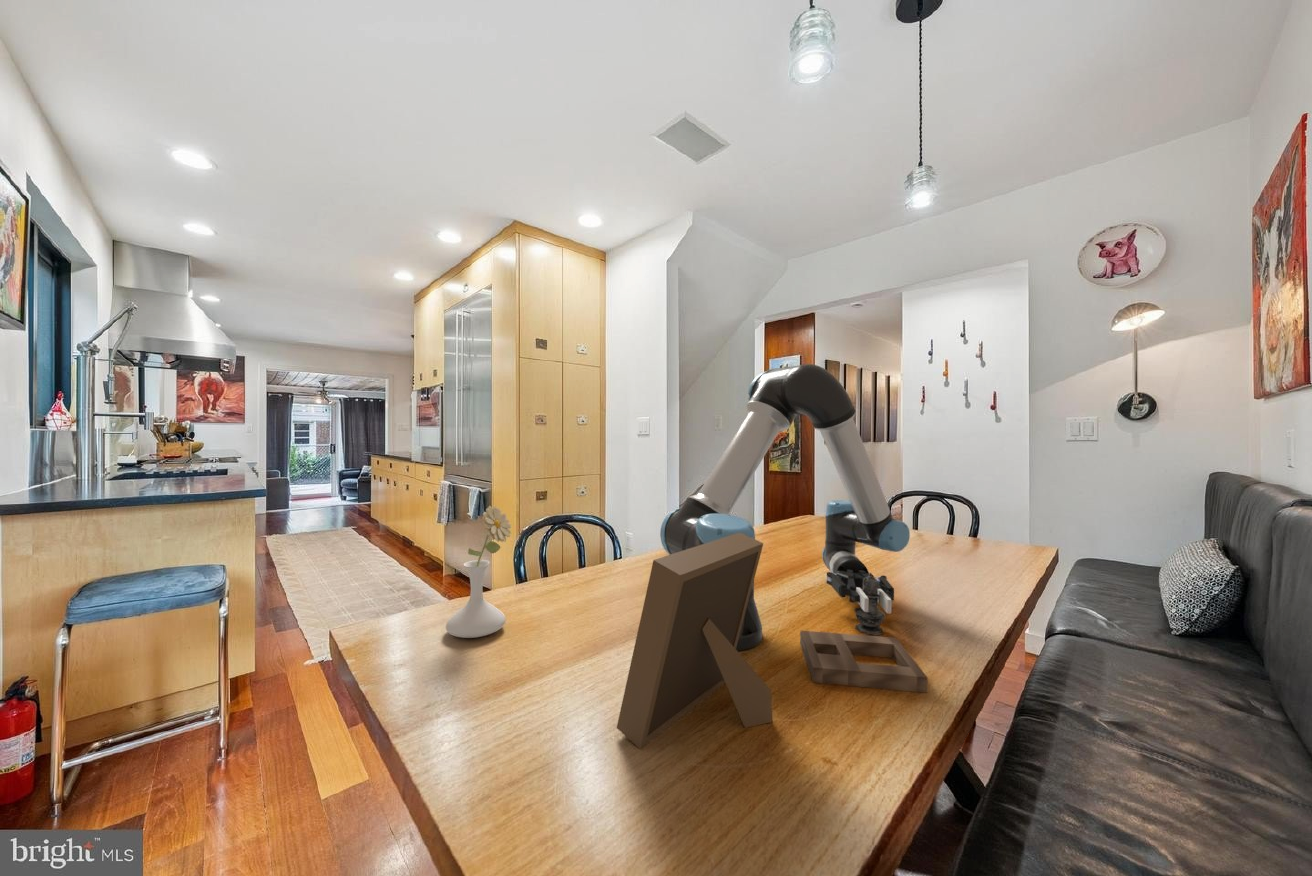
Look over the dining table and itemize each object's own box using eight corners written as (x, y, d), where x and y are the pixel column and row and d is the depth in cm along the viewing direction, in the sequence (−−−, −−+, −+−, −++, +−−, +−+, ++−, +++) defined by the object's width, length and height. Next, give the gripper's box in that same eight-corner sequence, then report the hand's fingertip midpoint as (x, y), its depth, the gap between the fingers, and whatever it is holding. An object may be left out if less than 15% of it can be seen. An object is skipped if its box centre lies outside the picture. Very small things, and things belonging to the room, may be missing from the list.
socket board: (812, 682, 79) (813, 667, 79) (800, 643, 93) (800, 630, 93) (926, 692, 76) (927, 677, 76) (895, 650, 90) (896, 637, 90)
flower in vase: (466, 649, 89) (466, 515, 88) (434, 633, 95) (434, 508, 95) (524, 626, 99) (525, 506, 98) (491, 613, 106) (492, 500, 105)
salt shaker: (889, 636, 97) (891, 577, 97) (860, 635, 97) (862, 576, 97) (877, 624, 103) (878, 568, 103) (849, 623, 103) (850, 568, 103)
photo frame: (616, 735, 65) (621, 551, 64) (705, 672, 81) (710, 527, 81) (708, 790, 55) (715, 576, 54) (788, 707, 72) (794, 542, 71)
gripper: (884, 588, 116) (922, 628, 93) (813, 583, 119) (833, 621, 96) (885, 557, 116) (923, 589, 93) (813, 553, 119) (834, 584, 96)
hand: (877, 605), depth 94 cm, fingers closed on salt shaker, 4 cm apart
